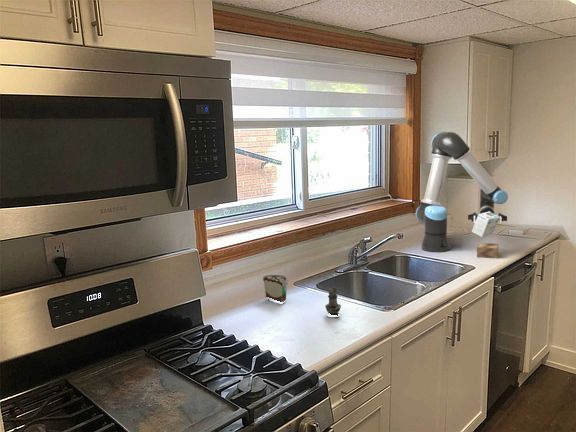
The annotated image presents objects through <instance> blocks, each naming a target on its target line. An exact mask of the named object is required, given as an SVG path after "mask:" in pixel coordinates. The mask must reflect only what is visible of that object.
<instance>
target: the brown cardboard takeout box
mask: <svg viewBox="0 0 576 432" xmlns="http://www.w3.org/2000/svg"><path fill="white" fill-rule="evenodd" d="M476 258H486V259H487V258H488V259H498V258H499V244H498V243H489V242H488V243H487V242H478V243H477V247H476Z"/></svg>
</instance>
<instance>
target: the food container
mask: <svg viewBox="0 0 576 432" xmlns="http://www.w3.org/2000/svg"><path fill="white" fill-rule="evenodd" d="M262 282H263V283H264V291H265V293H264V294H265V298H266V297H269V298H272V299H274V300H277V301H280V302H284V301H285V300H286V301H287V287H288V285H289V281H288V278H287V276H285V275H281V274H268V275H263V277H262Z"/></svg>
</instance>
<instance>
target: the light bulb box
mask: <svg viewBox="0 0 576 432" xmlns="http://www.w3.org/2000/svg"><path fill="white" fill-rule="evenodd" d="M494 213H495V212H494ZM494 213H492V212H490V211H489V212H485V213H481V214H479V213H477V214H478V216H477V219H476V220H475V223H474V224H473V227H472V230H471V233H474V234H475V235H477V236H479V237H480V238H484V237H487V236H490V235H493V234H494V232H495V230H496V227H497V225H498V222H499V217H500V216H498V214H496V213H495V214H494Z"/></svg>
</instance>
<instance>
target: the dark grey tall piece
mask: <svg viewBox="0 0 576 432" xmlns="http://www.w3.org/2000/svg"><path fill="white" fill-rule="evenodd" d="M337 294H338V293H337V288H336V287H335V286H334V284H331V286H330V287H329V288H328V296H327V298H328V303H327V304H325V305H324V306H325V309H326V312H327V313H330V314H331V315H337V316H338V314H340V313H339V312H340V311H341V307H342V305H341V304H339V303H338V298H339V297H338V295H337Z"/></svg>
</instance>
